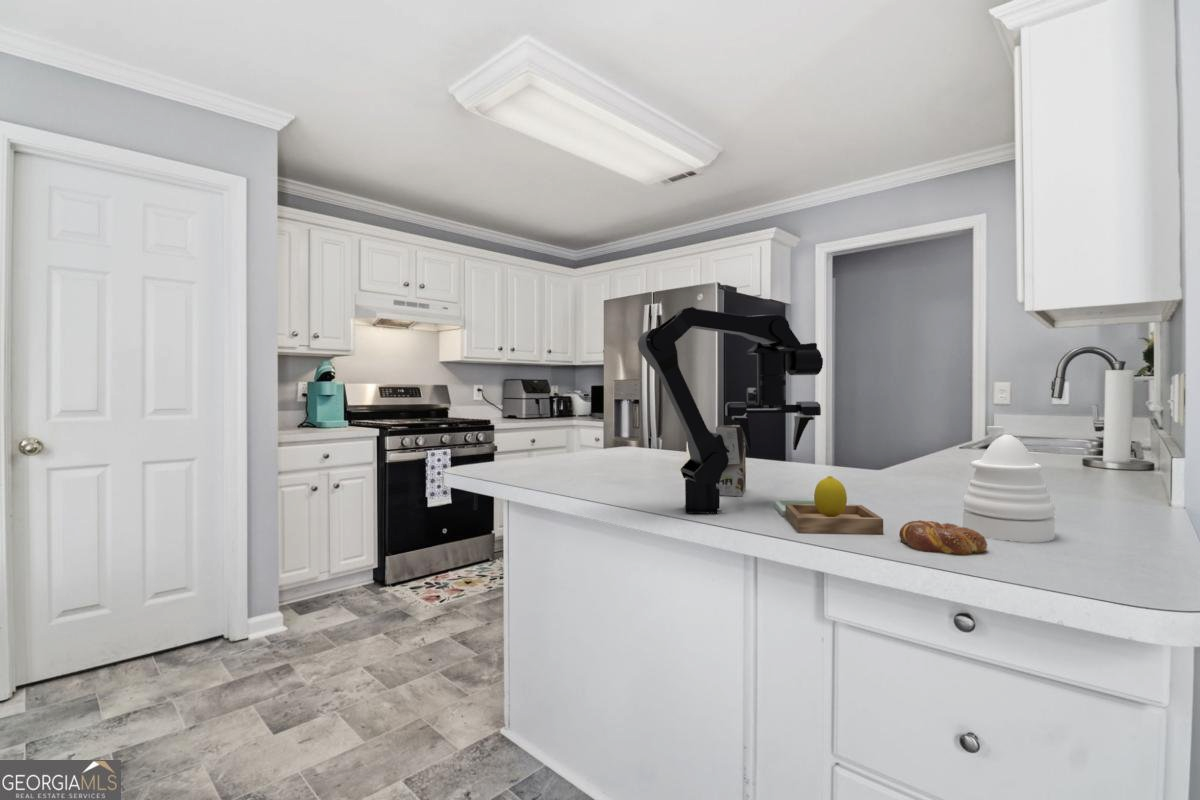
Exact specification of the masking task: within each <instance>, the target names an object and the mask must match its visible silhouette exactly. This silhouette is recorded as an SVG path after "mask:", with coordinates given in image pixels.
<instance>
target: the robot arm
mask: <svg viewBox="0 0 1200 800" xmlns="http://www.w3.org/2000/svg"><path fill="white" fill-rule="evenodd" d="M690 329H696V330H701V331H702V330H703V331H708V332H717V333H723V334H730V335H737V336H741V337H743V338H746V339H748V340H749V341H753V342H755V343H753V345H752V346H751V347H750V349H748V350H747V352H746V353H747V355H756V366H757V367H756V368H757V369H756V370H757V371H756V372H757V373H756V377H757V379H756V380H757V381H756V382H757V383H756V385H757V386H756V387H757V388H756V387H747V388H746V402H745V401H731V402H730V401H729V402H726V403H725V408H724V410H725V412H724V413H725V414H724V415H725V416H727V417H731V419H732V420H733V421H736V422H737V424H738V425H740V427H741V430H742V432H743V435H744V438H745V445H746V447H747V450H748V451H751V450H752V442H751V432H750V422H749V418H748V417H747V414H796V415H793V416H794V417H793V418H794V428H793V438H792V450H793V451H796V450H797V448H798V445H799V444H800V441H801V438H802V435H803V433H804V431H805V430H806V429H805V428H806V427H807V426H808V423H809V422H810V421H813V420H815V417H814V416H821V414H822V413H821V412H822V409H821V404H820V403H819V402H818V401H814V400H812V401H809V400H808V401H807V400H806V401H796V402H795V404H787V402H786V401H787V398H786V397H787V388H786V387H787V386H786V385H787V383H786V382H787V381H786V378H787V375H786V372H787V374H788V375H789V376H817V375H820V373H821V372H822V369H823V365H824V363H823V362H824V358H823V357H822V353H821V351H820V350H819V349H818V344H817V342H810V343H801V342H800V341H799V339H798V338H797V336H796V335H795V333H794V332H793V330H792V329H791V327H790V324H789V321H788V320H787V317H786V316H784V315H783V314H779V313H777V314H776V313H773V314H758V315H742V314H737V313H729V312H722V311H715V310H709V309H701V308H696V307H693V306H686V307H683V308H681V309H679V310H677V311H676V313H675V314H674V315H673V316H672V317H670V318H669V319H667V320H666V321H664V322H663V323H662V324H661V325H659V326H658V327H655V328H652V329H649V330H645V332H643V333H642V334H641V335H640V336H639V339H638V342H637V347H638V351H639V352H640V354H641V355H642V357H643V358H644V359H645V361H646V362H647V364H648V365H649V366H650V367H651V368H652V369H653V371H654V372H655V373H656V374H657V375H658V376H659V379H660V381H661V383H662V385H663V387H664V390H665V392H666V394H667V396H668V399H669V400H670V402H671V405H672V406H673V410H674V411H675V413H676V415H677V417H678V419H679V421H680V423H681V424H680V425H681V426H682V428H683V431H684V432H685V434H686V439H687V449H688V454H689V459H688V460H687V461H686V462H685V463H684V464H683V466H682V467H680V472H681V475H682V478H683V479H684V487H685V488H684V490H685V491H684V496H685V497H684V498H685V499H684V500H685V501H684V502H685V504H684V513H685V514H718V513H719V511H718V510H719V509H720V507H721V506H720V504H721V502H720V501H721V499H720V497H721V495H720V493H719V487H716V483H719V481H720V478H721V475H722V472H723V471H724V470H725V469H726V468H727V465H728V463H729V458H728V455H727V453H729V452H730V451H729V450H728V449H727V448H726V447H725V445H724V441H723V438H722V436H721V434H717V433H716V432H711V431H710V430H709V428H707V425H706V423H705V420H704V419H703V417H702V415H701V412H700V410H699V408H698V406H697V404H696V402H695V399H694V397H693V394H692V393H691V390H690V388H689V386H688V383H687V382H686V380H685V378H684V375H683V373H682V370H681V369H680V365H679V358H678V357H679V355H678V350H677V349H678V348H677V345H676V342H677V341H678V340H679V339H680V338H682V337H683V336H684V335H685V334H686V333H687V331H689V330H690ZM782 349H783V350H782Z"/></svg>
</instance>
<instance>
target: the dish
mask: <svg viewBox="0 0 1200 800" xmlns="http://www.w3.org/2000/svg"><path fill="white" fill-rule="evenodd" d="M772 501H773V502H772V503H773V505H774V506H773V507H774V508H775V510H776V511H777V510H778V511H777V512H778V513H779V514H780V515H782V516H781V517H782V518H786V504H815V501H814V499H813V500H812V499H811V500H810V499H773V500H772Z"/></svg>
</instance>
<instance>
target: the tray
mask: <svg viewBox="0 0 1200 800" xmlns="http://www.w3.org/2000/svg"><path fill="white" fill-rule="evenodd" d="M785 519H786V520H787V521H788V522H789V524H790V525H791V526H792V527H793V529H794V530H795V531H796V530H797V531H796V532H797V533H799V534H840V533H850V534H849V535H852V534H853V535H854V534H855V535H884V519H883V518H882V517H881V516H879V515H878V514H876V513H875V512H873V511H872V510H871V509H869V508H867V507H865V506H864V505H862V504H846V507H845V509H844V511H843V512H842V513H841V514H840V515H838V516H835V517H826V516H825V515H823V514H821V513H820V512H819V511H818V509H817V508H816V506H815V504H786V517H785Z"/></svg>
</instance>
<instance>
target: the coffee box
mask: <svg viewBox="0 0 1200 800" xmlns="http://www.w3.org/2000/svg"><path fill="white" fill-rule="evenodd" d="M715 433H717V434H721V436H722V438H723V441H724V445H725V447H726V448H727V449H728V450H729V451H730V452H729V453H727V455H728V458H729V463H728V465H727V468H726V469H725V470H724V471H723V472H722V475H721V478H720V481H719V483H716V487H719V493H720V496H726V497H727V496H728V497H743V496H744V494H745V493H746V490H747V489H746V488H747V482H746V480H747V478H746V477H747V475H746V474H747V473H746V472H747V471H746V469H747V468H746V464H747V463H746V441H745V438H744V435H743V432H742V430H741V427H740V425H739V424H732V425H731V424H729V425H728V424H727V425H718V426H716V427H715Z"/></svg>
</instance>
